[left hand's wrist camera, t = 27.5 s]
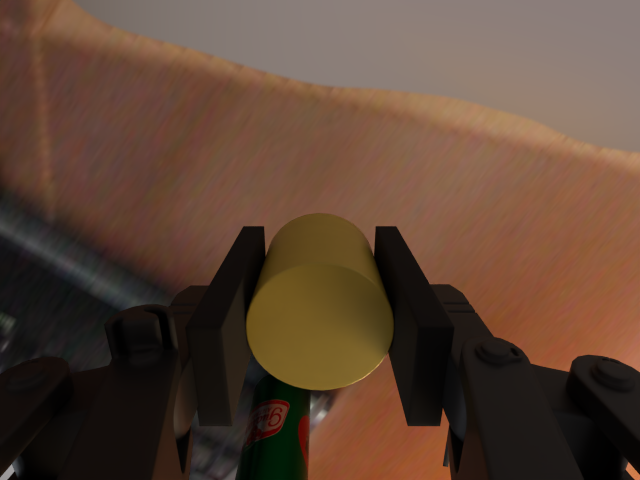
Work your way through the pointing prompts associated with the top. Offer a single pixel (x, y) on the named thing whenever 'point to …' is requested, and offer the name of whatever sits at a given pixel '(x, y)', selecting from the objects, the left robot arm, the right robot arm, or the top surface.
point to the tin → (319, 306)
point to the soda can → (276, 433)
